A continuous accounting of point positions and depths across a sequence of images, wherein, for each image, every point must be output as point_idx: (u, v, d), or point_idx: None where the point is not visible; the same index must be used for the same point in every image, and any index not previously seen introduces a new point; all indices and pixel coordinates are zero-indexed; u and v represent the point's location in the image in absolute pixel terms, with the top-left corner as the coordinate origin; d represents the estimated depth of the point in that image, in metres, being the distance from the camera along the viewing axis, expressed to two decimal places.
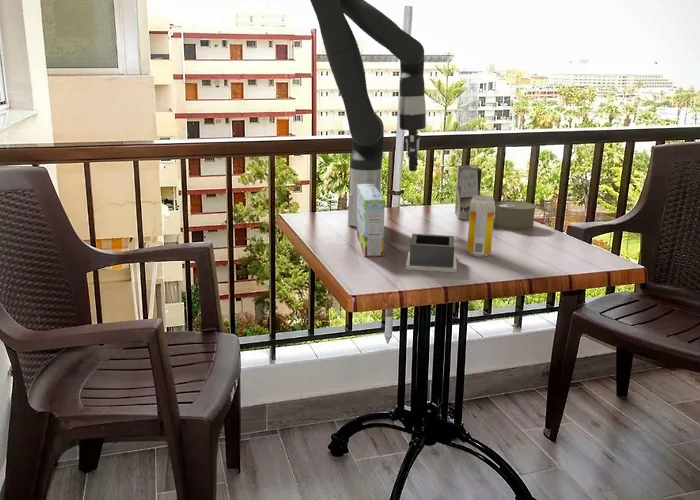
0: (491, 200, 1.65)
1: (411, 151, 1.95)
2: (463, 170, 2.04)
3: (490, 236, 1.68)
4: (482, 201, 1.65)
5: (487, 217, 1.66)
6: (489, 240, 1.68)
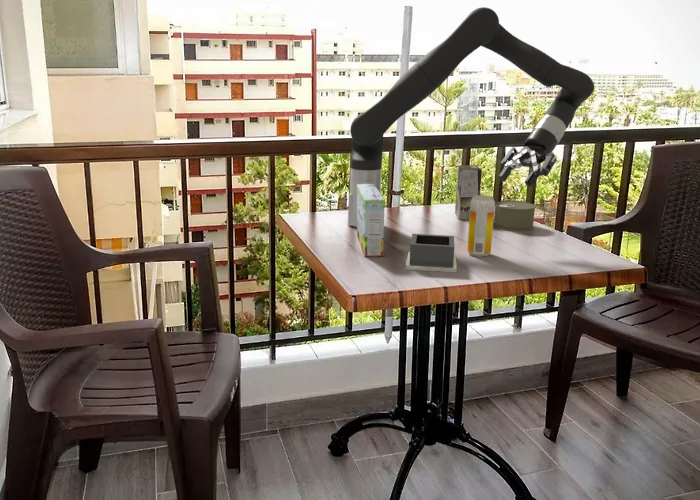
0: (491, 200, 1.65)
1: (509, 165, 1.77)
2: (463, 170, 2.04)
3: (490, 236, 1.68)
4: (482, 201, 1.65)
5: (487, 217, 1.66)
6: (489, 240, 1.68)
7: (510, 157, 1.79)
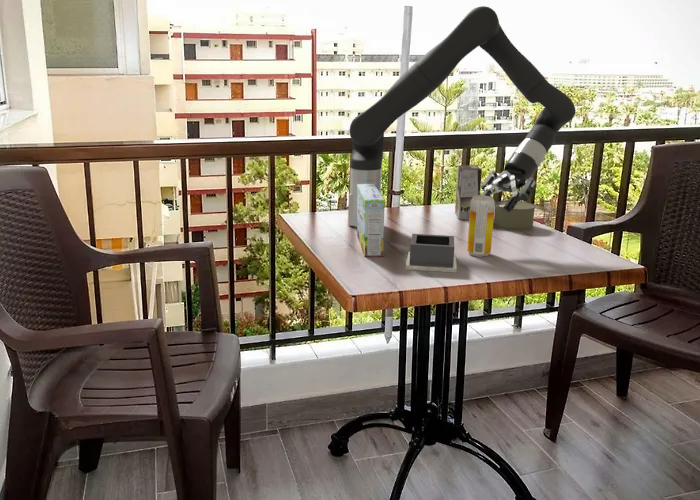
0: (491, 200, 1.65)
1: (489, 189, 1.74)
2: (463, 170, 2.04)
3: (490, 236, 1.68)
4: (482, 201, 1.65)
5: (487, 217, 1.66)
6: (489, 240, 1.68)
7: (490, 181, 1.76)
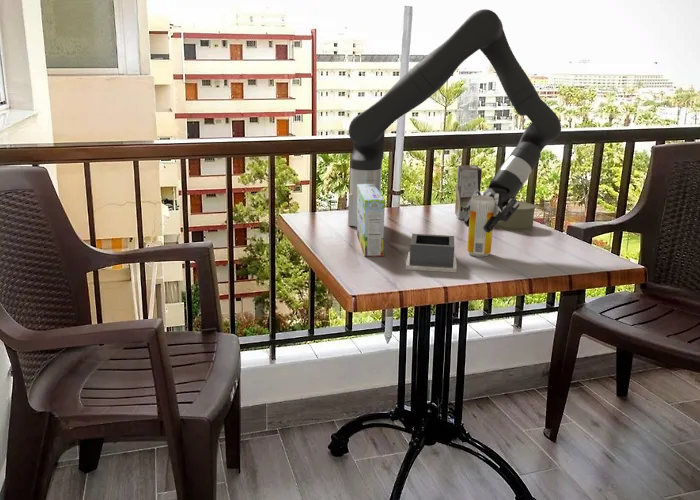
0: (491, 200, 1.65)
1: None
2: (463, 170, 2.04)
3: (490, 236, 1.68)
4: (482, 201, 1.65)
5: (487, 217, 1.66)
6: (489, 240, 1.68)
7: None
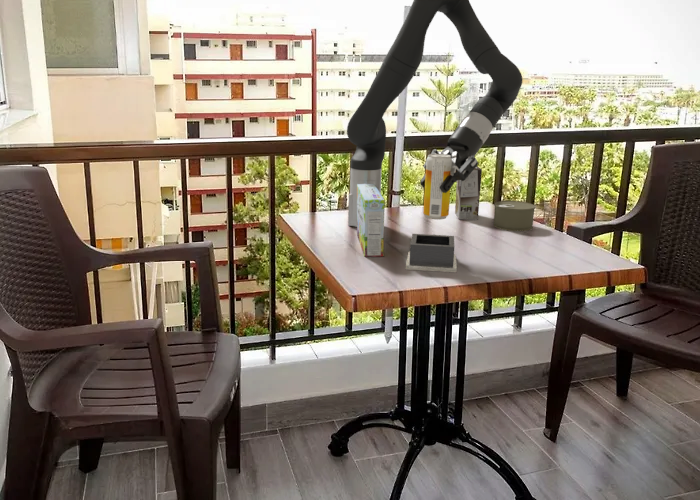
0: (448, 158, 1.54)
1: None
2: None
3: (447, 197, 1.56)
4: (438, 159, 1.53)
5: (443, 176, 1.54)
6: (446, 201, 1.56)
7: None
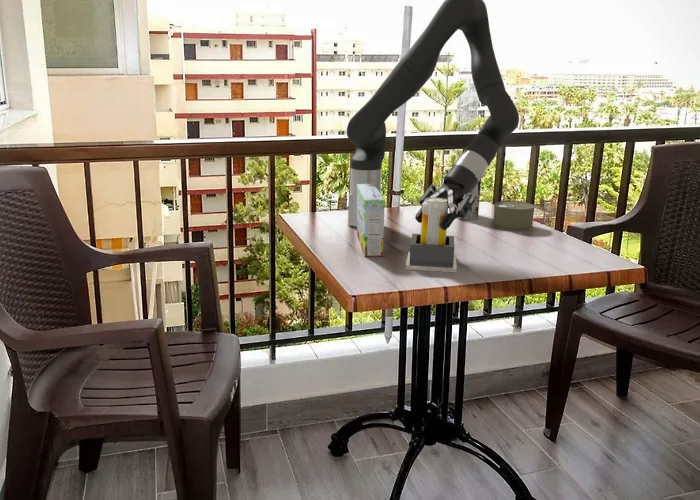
0: (444, 202, 1.56)
1: None
2: None
3: (443, 240, 1.59)
4: (434, 203, 1.56)
5: (439, 220, 1.57)
6: None
7: (428, 195, 1.65)
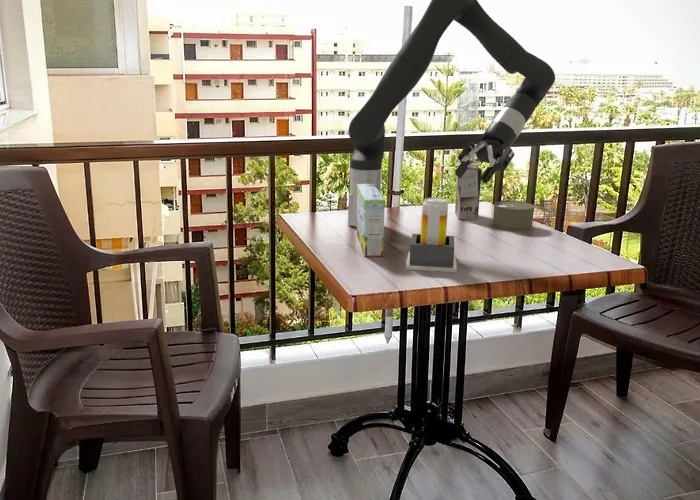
0: (444, 203, 1.56)
1: (466, 161, 1.67)
2: None
3: (443, 240, 1.59)
4: (434, 204, 1.56)
5: (439, 220, 1.57)
6: None
7: (467, 152, 1.69)
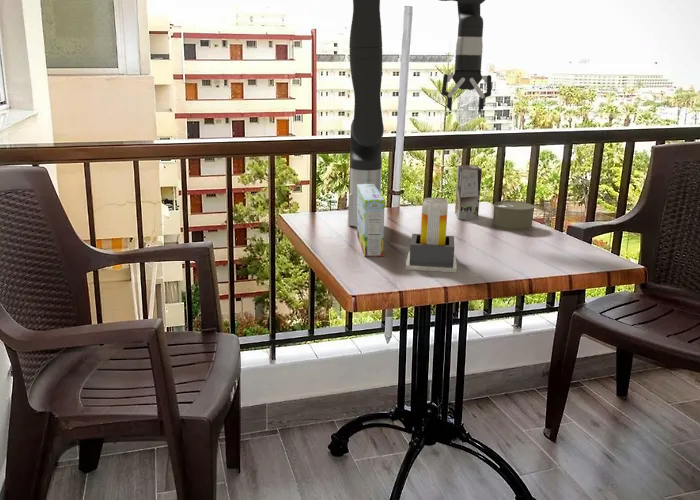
0: (443, 202, 1.56)
1: (451, 94, 1.93)
2: (463, 170, 2.04)
3: (443, 240, 1.59)
4: (434, 203, 1.56)
5: (439, 220, 1.57)
6: (442, 244, 1.59)
7: (446, 85, 1.92)
